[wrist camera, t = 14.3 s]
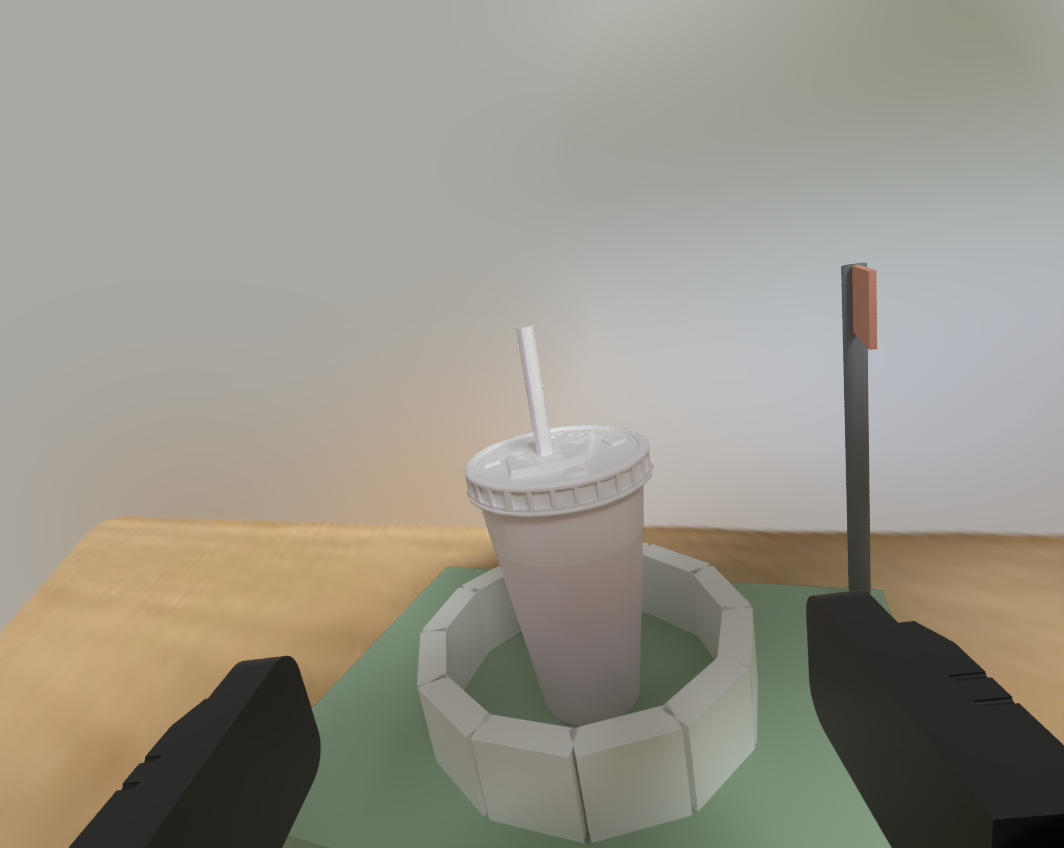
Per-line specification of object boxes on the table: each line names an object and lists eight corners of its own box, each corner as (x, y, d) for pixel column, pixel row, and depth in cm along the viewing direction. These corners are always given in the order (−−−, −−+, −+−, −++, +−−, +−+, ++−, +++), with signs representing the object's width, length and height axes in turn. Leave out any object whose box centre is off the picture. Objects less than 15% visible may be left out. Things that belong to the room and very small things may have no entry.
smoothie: (474, 715, 21) (394, 347, 18) (568, 621, 26) (520, 316, 23) (625, 789, 17) (560, 335, 14) (704, 663, 22) (670, 300, 19)
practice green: (882, 606, 25) (880, 259, 21) (1039, 1094, 11) (1115, 308, 7) (449, 578, 34) (393, 328, 30) (219, 830, 19) (59, 413, 16)
